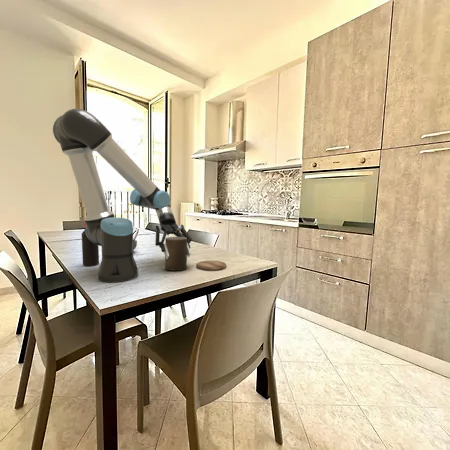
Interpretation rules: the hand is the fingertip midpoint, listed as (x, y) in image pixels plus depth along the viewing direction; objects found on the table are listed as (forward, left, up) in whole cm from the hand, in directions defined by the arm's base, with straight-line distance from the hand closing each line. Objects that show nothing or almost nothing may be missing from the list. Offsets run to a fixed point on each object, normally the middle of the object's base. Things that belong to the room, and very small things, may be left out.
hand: (178, 256), depth 114 cm
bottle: (-17, +40, -7) cm, 44 cm away
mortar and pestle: (+9, +48, -7) cm, 49 cm away
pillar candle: (+1, +3, -6) cm, 7 cm away
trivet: (+13, -8, -6) cm, 17 cm away
